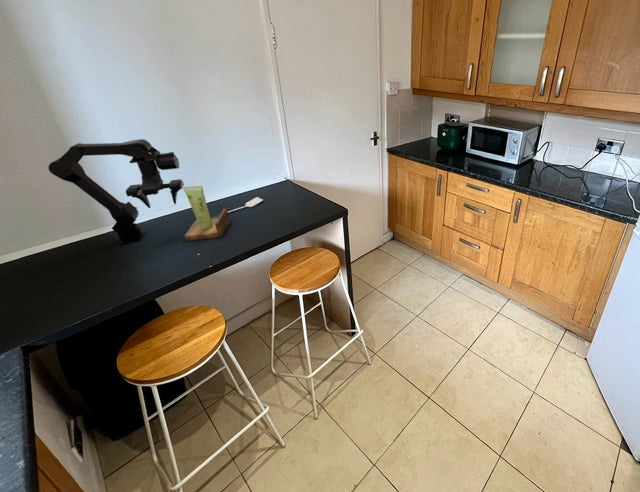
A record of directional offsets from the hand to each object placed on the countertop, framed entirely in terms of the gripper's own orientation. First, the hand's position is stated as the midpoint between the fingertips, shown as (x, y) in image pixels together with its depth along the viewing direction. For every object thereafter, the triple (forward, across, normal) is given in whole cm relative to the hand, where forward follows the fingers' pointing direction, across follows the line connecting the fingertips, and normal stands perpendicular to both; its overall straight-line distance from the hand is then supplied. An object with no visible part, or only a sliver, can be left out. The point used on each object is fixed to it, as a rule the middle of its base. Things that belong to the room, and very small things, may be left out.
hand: (162, 205), depth 133 cm
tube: (+11, +14, -5) cm, 19 cm away
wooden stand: (+13, +15, -5) cm, 20 cm away
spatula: (+13, +24, +11) cm, 30 cm away
